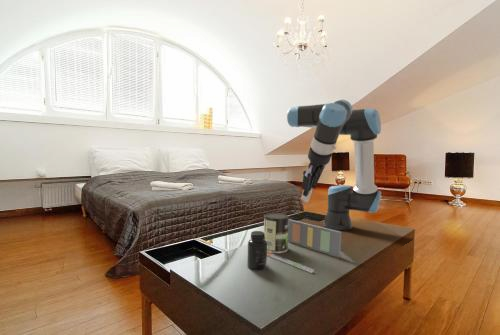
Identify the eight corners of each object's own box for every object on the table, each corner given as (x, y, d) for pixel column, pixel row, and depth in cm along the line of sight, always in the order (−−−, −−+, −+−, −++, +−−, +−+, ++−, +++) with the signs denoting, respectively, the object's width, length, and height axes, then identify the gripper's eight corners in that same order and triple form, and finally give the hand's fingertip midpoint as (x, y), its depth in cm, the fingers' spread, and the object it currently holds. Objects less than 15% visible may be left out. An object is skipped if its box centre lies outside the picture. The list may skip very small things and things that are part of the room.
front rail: (257, 250, 105) (257, 247, 105) (313, 272, 86) (314, 269, 86) (255, 251, 104) (255, 248, 104) (311, 273, 85) (312, 270, 85)
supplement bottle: (244, 263, 91) (245, 230, 91) (261, 261, 94) (262, 229, 94) (251, 272, 85) (252, 236, 85) (270, 269, 88) (271, 234, 87)
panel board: (286, 240, 118) (287, 218, 118) (340, 257, 100) (341, 231, 99) (284, 240, 117) (285, 219, 117) (338, 258, 99) (339, 232, 98)
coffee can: (288, 245, 111) (289, 213, 110) (287, 254, 101) (288, 219, 100) (264, 243, 113) (265, 212, 112) (261, 252, 103) (262, 217, 102)
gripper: (321, 161, 80) (303, 213, 94) (340, 148, 88) (321, 197, 102) (301, 151, 84) (287, 202, 98) (321, 139, 92) (305, 188, 106)
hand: (304, 200), depth 100 cm, fingers closed
